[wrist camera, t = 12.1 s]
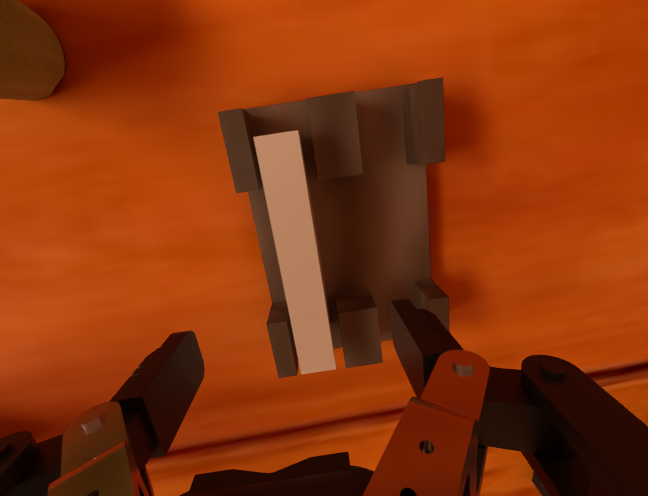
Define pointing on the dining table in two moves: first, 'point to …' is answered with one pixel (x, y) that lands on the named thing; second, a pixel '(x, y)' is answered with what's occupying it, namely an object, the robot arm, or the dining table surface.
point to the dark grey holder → (352, 207)
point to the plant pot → (27, 54)
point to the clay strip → (297, 247)
